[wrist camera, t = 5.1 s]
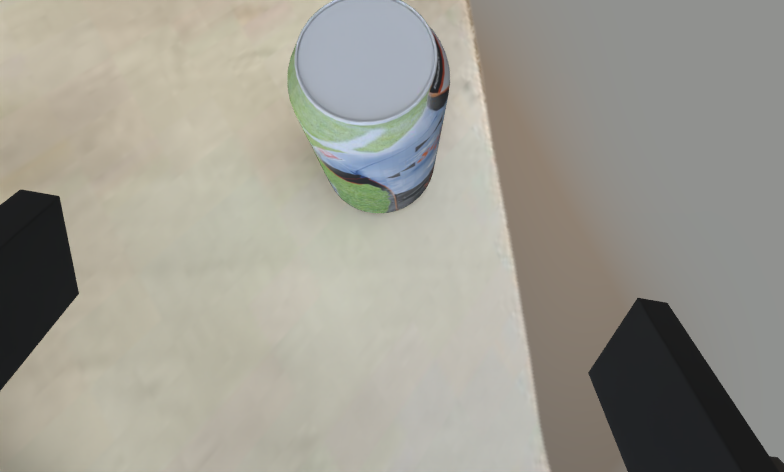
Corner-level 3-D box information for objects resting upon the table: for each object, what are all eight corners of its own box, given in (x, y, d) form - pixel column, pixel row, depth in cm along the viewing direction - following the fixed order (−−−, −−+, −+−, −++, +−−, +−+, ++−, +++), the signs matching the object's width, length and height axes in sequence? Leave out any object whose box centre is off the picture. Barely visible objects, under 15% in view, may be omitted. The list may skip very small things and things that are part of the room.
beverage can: (433, 213, 28) (511, 137, 17) (304, 223, 27) (289, 149, 15) (421, 110, 29) (487, -30, 18) (296, 115, 28) (276, -31, 16)
